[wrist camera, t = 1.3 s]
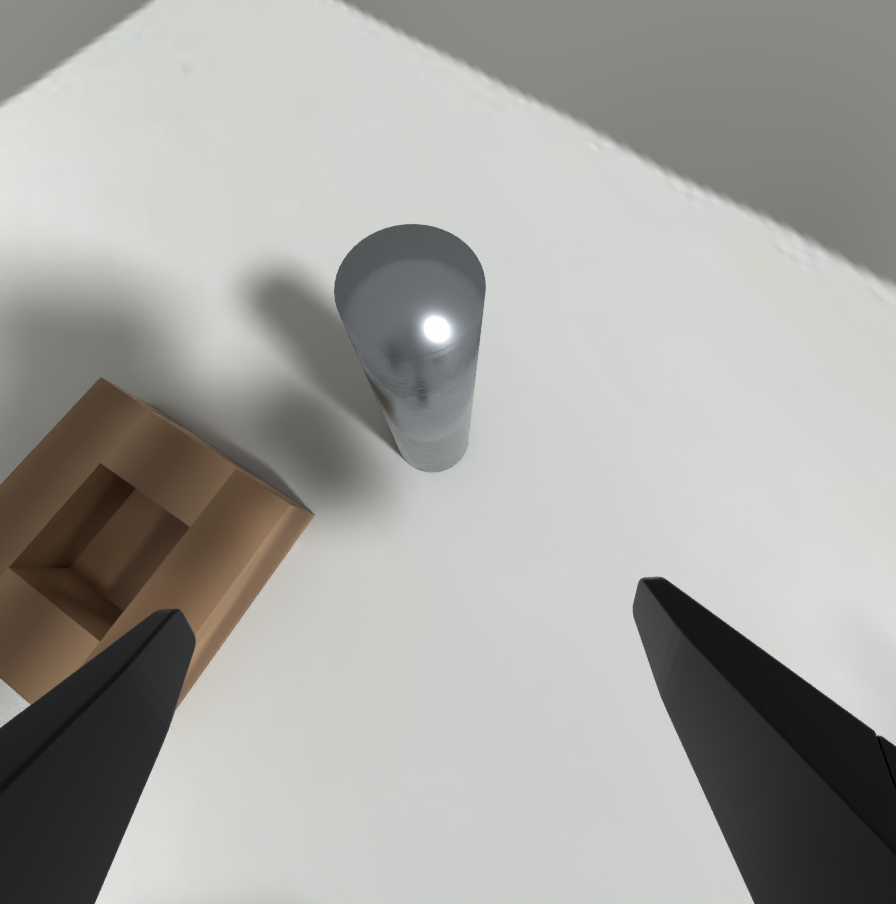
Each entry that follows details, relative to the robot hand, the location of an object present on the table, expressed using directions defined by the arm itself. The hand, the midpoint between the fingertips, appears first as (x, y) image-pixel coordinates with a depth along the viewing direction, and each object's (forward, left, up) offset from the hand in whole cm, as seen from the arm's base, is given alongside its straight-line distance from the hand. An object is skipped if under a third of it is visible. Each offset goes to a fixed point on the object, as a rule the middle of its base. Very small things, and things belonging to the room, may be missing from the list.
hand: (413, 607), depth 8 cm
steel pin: (+4, -7, -14) cm, 16 cm away
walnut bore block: (+13, +6, -14) cm, 20 cm away
